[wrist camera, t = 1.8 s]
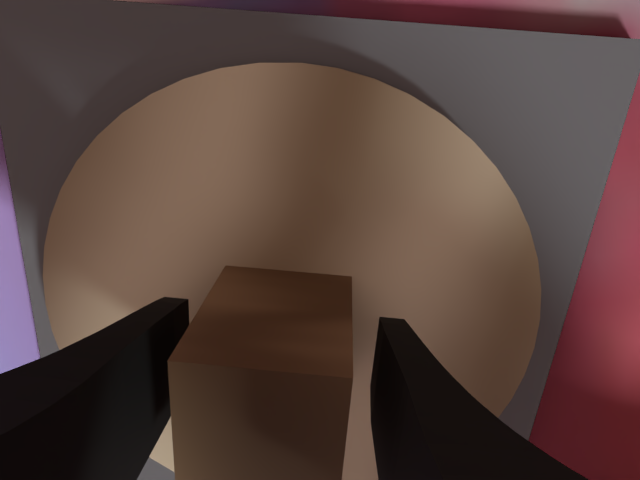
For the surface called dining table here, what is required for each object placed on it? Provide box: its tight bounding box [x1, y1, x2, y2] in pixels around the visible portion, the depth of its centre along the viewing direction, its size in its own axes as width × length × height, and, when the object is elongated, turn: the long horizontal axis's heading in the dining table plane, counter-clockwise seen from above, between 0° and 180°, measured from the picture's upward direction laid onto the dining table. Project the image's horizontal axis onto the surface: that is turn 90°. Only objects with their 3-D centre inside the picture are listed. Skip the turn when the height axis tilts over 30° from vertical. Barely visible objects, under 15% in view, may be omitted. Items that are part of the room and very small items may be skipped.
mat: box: [0, 0, 640, 480], centre depth 13 cm, size 15×15×1 cm
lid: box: [43, 63, 541, 480], centre depth 11 cm, size 13×13×5 cm
